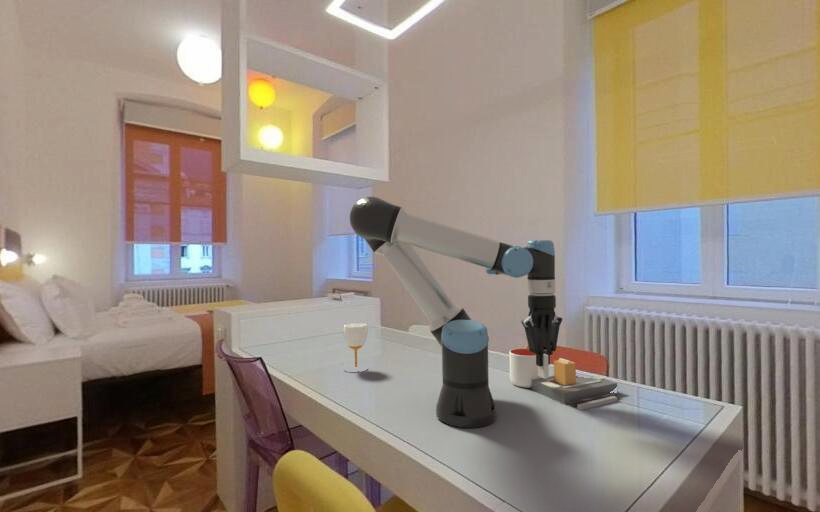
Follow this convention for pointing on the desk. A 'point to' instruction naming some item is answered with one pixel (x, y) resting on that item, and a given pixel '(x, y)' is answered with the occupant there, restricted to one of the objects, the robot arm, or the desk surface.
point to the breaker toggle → (564, 372)
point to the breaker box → (573, 388)
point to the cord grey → (596, 402)
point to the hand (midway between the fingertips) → (543, 376)
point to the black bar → (592, 399)
